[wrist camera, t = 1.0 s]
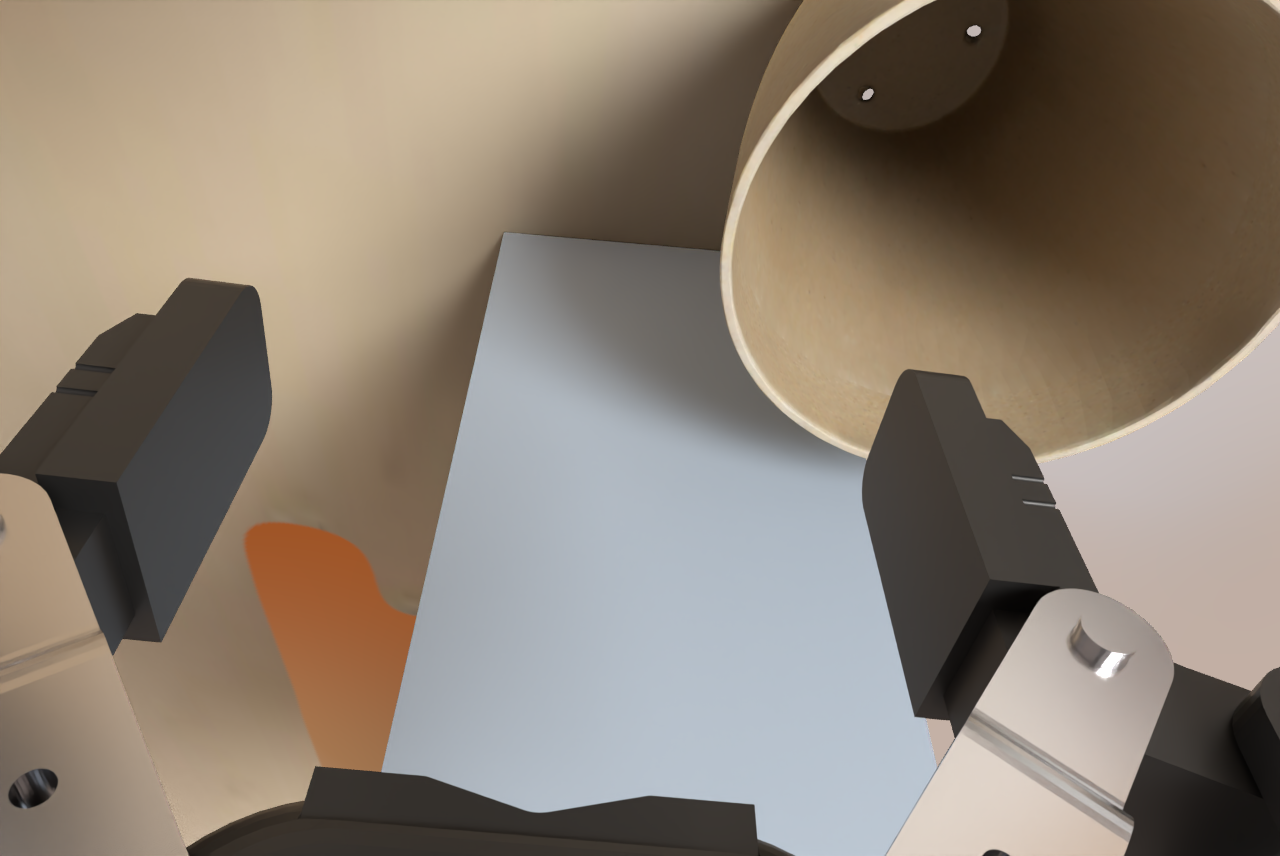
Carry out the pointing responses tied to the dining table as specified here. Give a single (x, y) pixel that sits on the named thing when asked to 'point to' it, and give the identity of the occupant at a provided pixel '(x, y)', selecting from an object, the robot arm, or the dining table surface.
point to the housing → (652, 572)
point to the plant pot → (1008, 210)
